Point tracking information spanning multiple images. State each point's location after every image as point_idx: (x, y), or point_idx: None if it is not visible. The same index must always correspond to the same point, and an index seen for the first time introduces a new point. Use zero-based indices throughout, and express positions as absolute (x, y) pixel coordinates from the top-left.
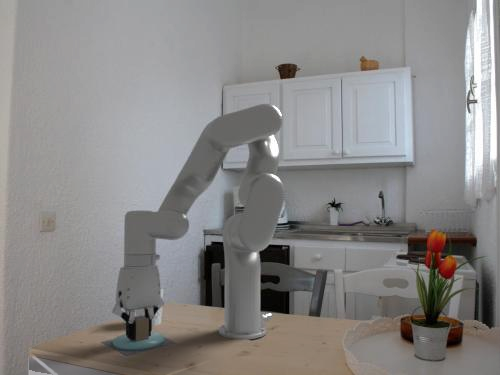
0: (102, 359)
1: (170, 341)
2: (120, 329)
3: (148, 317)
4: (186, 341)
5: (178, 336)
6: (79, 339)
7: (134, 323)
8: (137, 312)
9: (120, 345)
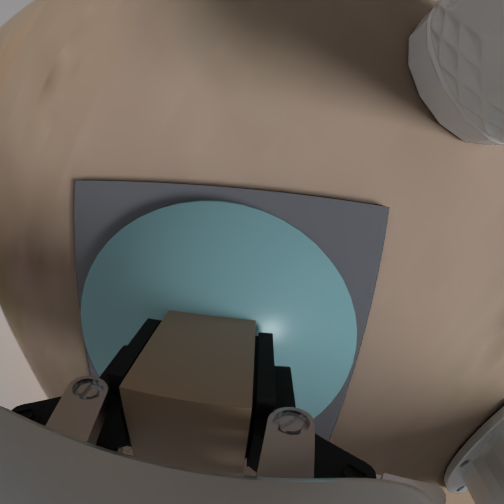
0: (39, 355)
1: (324, 425)
2: (306, 8)
3: (257, 463)
4: (379, 430)
5: (419, 366)
6: (64, 39)
7: (130, 445)
8: (445, 19)
9: (95, 359)
